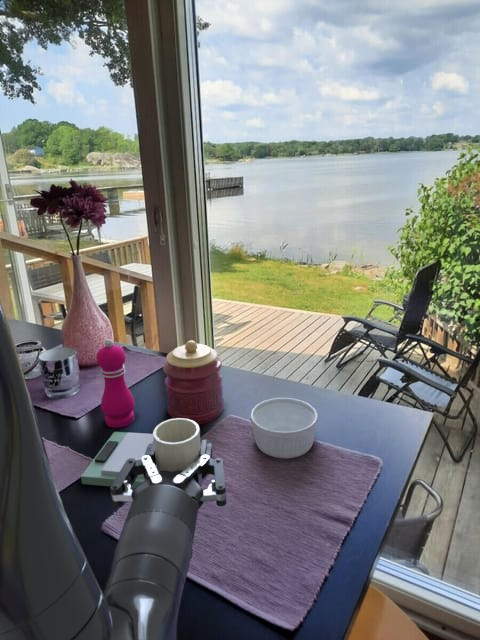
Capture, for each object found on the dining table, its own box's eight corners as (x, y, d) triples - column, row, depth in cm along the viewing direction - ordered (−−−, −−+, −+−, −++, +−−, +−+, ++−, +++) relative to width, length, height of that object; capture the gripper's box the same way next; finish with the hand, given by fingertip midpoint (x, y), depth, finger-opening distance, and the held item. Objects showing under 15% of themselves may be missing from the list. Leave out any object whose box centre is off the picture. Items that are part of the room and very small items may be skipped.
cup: (153, 505, 59) (146, 442, 55) (167, 476, 64) (162, 416, 61) (197, 510, 58) (192, 445, 54) (207, 479, 63) (204, 419, 60)
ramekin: (269, 419, 98) (269, 391, 95) (326, 435, 91) (327, 405, 89) (239, 452, 87) (238, 421, 85) (302, 472, 81) (302, 440, 78)
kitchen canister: (187, 393, 110) (181, 327, 104) (233, 403, 105) (230, 334, 99) (156, 420, 99) (148, 347, 93) (206, 432, 94) (201, 356, 88)
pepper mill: (122, 410, 104) (111, 330, 97) (143, 419, 100) (133, 337, 93) (97, 424, 98) (83, 341, 92) (118, 434, 94) (105, 348, 88)
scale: (82, 486, 79) (79, 472, 78) (115, 440, 92) (113, 428, 91) (167, 494, 77) (166, 479, 76) (189, 445, 90) (188, 433, 89)
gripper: (224, 513, 44) (231, 421, 60) (82, 513, 45) (126, 422, 60) (227, 569, 47) (233, 467, 62) (92, 569, 47) (132, 467, 63)
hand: (181, 445), depth 61 cm, fingers closed on cup, 6 cm apart
